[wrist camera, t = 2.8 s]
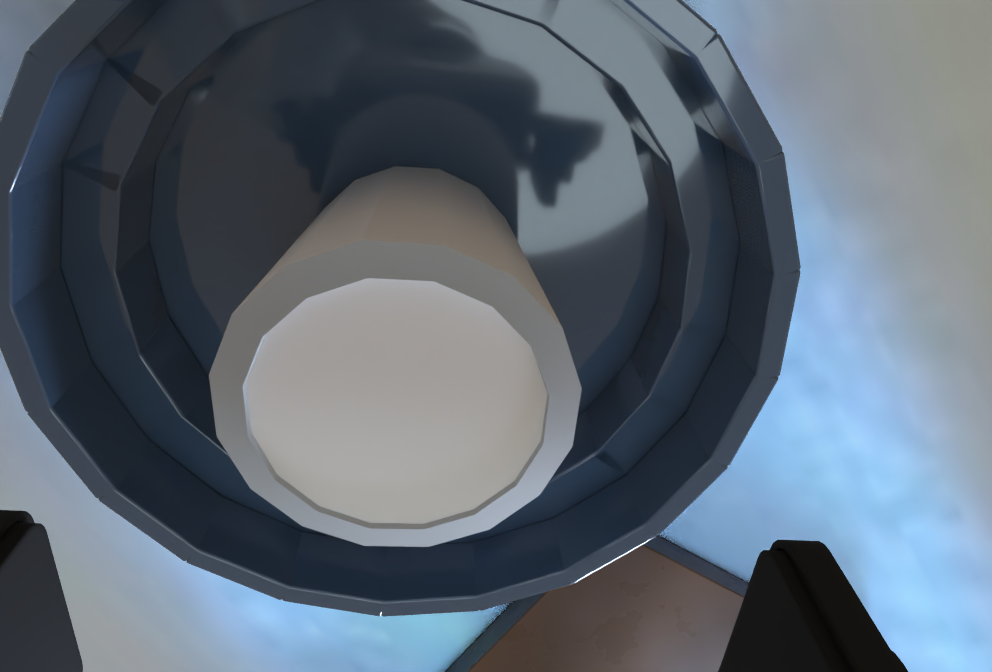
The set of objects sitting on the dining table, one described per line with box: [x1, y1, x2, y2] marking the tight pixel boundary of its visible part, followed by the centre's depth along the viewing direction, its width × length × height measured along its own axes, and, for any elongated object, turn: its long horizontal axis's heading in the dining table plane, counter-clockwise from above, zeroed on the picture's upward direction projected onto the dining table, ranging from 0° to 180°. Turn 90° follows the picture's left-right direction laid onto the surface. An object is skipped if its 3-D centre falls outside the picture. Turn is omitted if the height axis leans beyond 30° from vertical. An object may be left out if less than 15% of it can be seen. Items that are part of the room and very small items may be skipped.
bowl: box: [0, 0, 800, 616], centre depth 18 cm, size 17×17×4 cm
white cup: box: [209, 166, 582, 547], centre depth 16 cm, size 7×7×7 cm
